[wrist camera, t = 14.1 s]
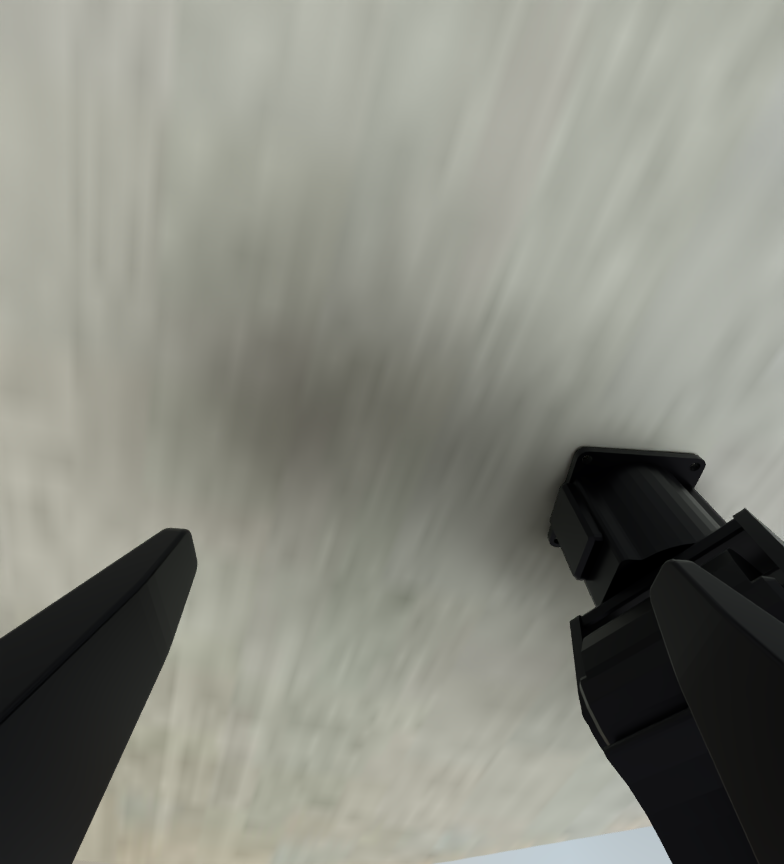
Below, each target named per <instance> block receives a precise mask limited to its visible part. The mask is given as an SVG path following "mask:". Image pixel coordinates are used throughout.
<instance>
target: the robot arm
mask: <svg viewBox="0 0 784 864" xmlns="http://www.w3.org/2000/svg"><path fill="white" fill-rule="evenodd" d="M588 455H589V457H588V458H586V459H583V460H582V458H583V457H585V456H588ZM694 463H695V464H694ZM692 464H694V465H693V466H691V465H692ZM705 465H706V464H705V461H704V460H703V459H702V458H700V457H699V456H698V455H695V454H682V453H667V452H653V451H638V450H623V449H609V448H594V447H583V448H580V449H579V450H577V451H576V453H575V455H574V457H573V460H572V463H571V466H570V469H569V472H568V475H567V478H566V481H565V483H564V484H563V485H562V486H561V487H560V490H559V493H558V496H557V499H556V502H555V505H554V508H553V511H552V514H551V517H550V524H551V526H550V529H549V532H548V540H549V542H550V544H551V545H552V546H554V547H561V549H562V551H563V554H564V556H565V558H566V561H567V563H568V565H569V568H570V570H571V572H572V574H573V576H574V577H575V578H576V579H577V580H584V582H585V584H586V586H587V588H588V591H589V593H590V595H591V597H592V599H593V602H594V604H595V606H596V607H595V608H594V609H592V610H591V611H589V612H588V613H586V614H585V615H583V616H581V615H579V616H577V617H576V618H574V619H573V620H571V621H570V628H571V637H572V645H573V654H574V662H575V670H576V679H577V687H578V695H579V700H580V705H581V710H582V715H583V717H584V720H585V721H586V723H587V724H588V725H589V727H590V729H591V732H592V733H593V735H594V737H595V739H596V740H597V742H598V744H599V746H600V747H601V748H602V750H603V751H604V753H605V756H606V757H607V759H608V760H609V762H610V763H611V764H612V765H613V767H614V768H615V769H616V771H617V772H618V773H619V774H620V776H621V777H622V778H623V780H624V781H625V782H626V784H627V785H628V786H629V788H630V789H631V791H632V793H633V794H634V796H635V797H636V799H637V800H638V802H639V804H640V805H641V807H642V808H643V810H644V811H645V813H646V815H647V816H648V818H649V820H650V822H651V824H652V825H653V827H654V829H655V831H656V833H657V835H658V837H659V838H660V840H661V842H662V844H663V846H664V848H665V850H666V852H667V854H668V856H669V858H670V860H671V862H672V864H784V542H783V541H782V540H781V539H780V538H779V537H778V536H777V535H775V534H774V533H773V532H772V531H771V530H770V529H769V528H767V527H766V526H765V525H764V524H763V523H762V522H761V521H759V520H758V519H757V518H756V517H755V516H754V515H753V514H751V513H750V512H749V511H748V510H747V509H746V508H744V509H743V510H741V511H740V512H738V513H737V514H735V515H734V516H733V518H734V519H732V520H731V521H729V522H728V523H726V522H725V521H724V520H723V519H722V517H721V516H720V515H719V514H718V513H717V512H716V511H715V510H714V509H713V508H712V507H711V506H710V505H709V504H708V503H707V502H706V501H705V499H704V498H703V497H702V496H701V495H700V494H699V493H698V492H697V491H696V490H695V489H694V487H695V485H696V484H697V482H698V480H699V478H700V476H701V474H702V472H703V470H704V468H705ZM555 538H557V539H555ZM196 570H197V557H196V553H195V548H194V544H193V539H192V535H191V533H190V531H189V530H187V529H179V528H166V529H164V530H162V531H160V532H159V533H157V534H156V535H154V536H153V537H151V538H150V539H148V540H147V541H145V542H144V543H142V544H141V545H139V546H138V547H136V548H135V549H133V550H132V551H130V552H129V553H127V554H126V555H124V556H123V557H121V558H120V559H118V560H117V561H115V562H114V563H112V564H111V565H109V566H108V567H106V568H105V569H103V570H102V571H100V572H99V573H97V574H96V575H94V576H93V577H91V578H90V579H88V580H87V581H85V582H84V583H82V584H81V585H79V586H78V587H76V588H75V589H74V590H72V591H71V592H69V593H68V594H66V595H65V596H63V597H62V598H60V599H59V600H57V601H56V602H54V603H53V604H51V605H50V606H48V607H47V608H45V609H44V610H42V611H41V612H39V613H38V614H36V615H35V616H33V617H32V618H30V619H29V620H27V621H26V622H24V623H23V624H21V625H20V626H18V627H17V628H15V629H14V630H12V631H11V632H9V633H8V634H6V635H5V636H3V637H2V638H0V864H72V863H73V860H74V858H75V856H76V854H77V852H78V850H79V847H80V845H81V843H82V841H83V839H84V837H85V834H86V832H87V830H88V828H89V826H90V823H91V821H92V819H93V817H94V815H95V813H96V810H97V808H98V806H99V804H100V802H101V799H102V797H103V795H104V793H105V791H106V789H107V786H108V784H109V782H110V780H111V778H112V775H113V773H114V771H115V769H116V767H117V765H118V762H119V760H120V758H121V756H122V754H123V752H124V749H125V747H126V745H127V743H128V741H129V738H130V736H131V734H132V732H133V730H134V728H135V725H136V723H137V721H138V719H139V717H140V714H141V712H142V710H143V708H144V706H145V704H146V701H147V699H148V697H149V695H150V693H151V690H152V688H153V686H154V684H155V682H156V680H157V677H158V675H159V673H160V671H161V669H162V667H163V664H164V662H165V660H166V657H167V655H168V653H169V650H170V647H171V644H172V642H173V639H174V636H175V633H176V630H177V627H178V624H179V621H180V618H181V615H182V612H183V609H184V606H185V603H186V601H187V598H188V595H189V592H190V589H191V586H192V583H193V580H194V577H195V574H196Z"/></svg>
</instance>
